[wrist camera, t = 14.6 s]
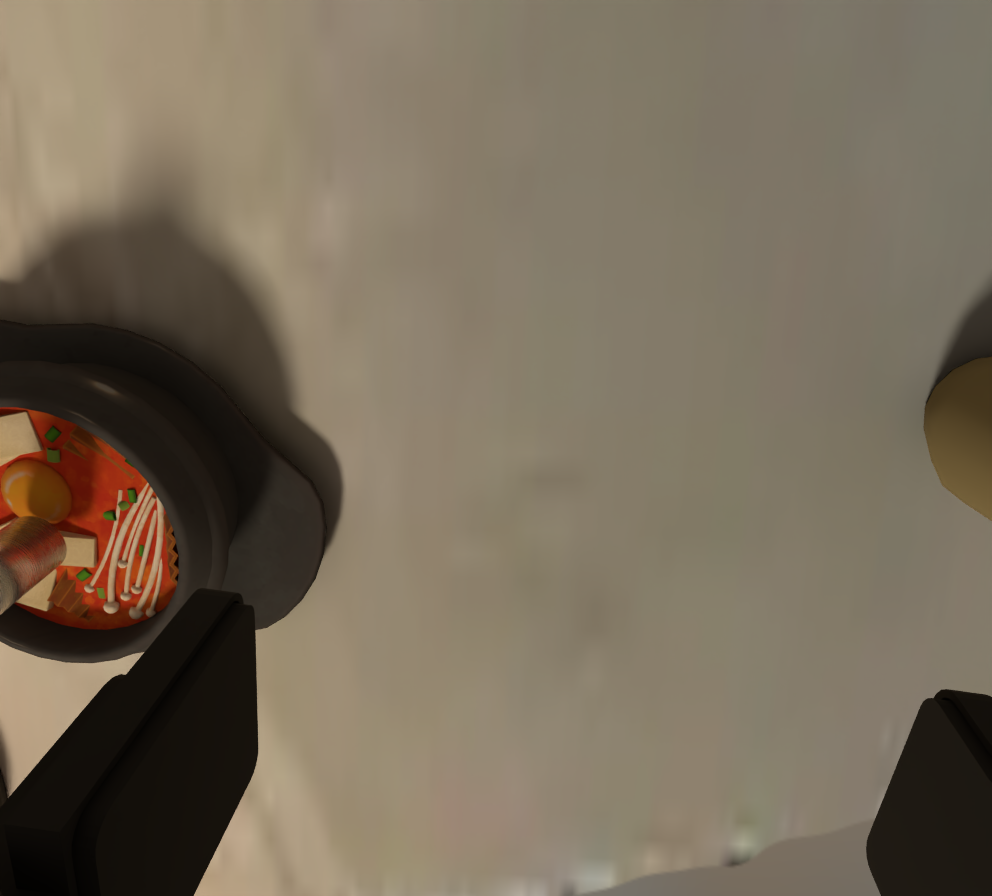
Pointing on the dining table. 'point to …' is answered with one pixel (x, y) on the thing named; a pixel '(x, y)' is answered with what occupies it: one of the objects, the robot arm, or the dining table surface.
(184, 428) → the casserole
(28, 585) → the orange and grey cylinder
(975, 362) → the squeeze bottle
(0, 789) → the belt
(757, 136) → the dining table surface
